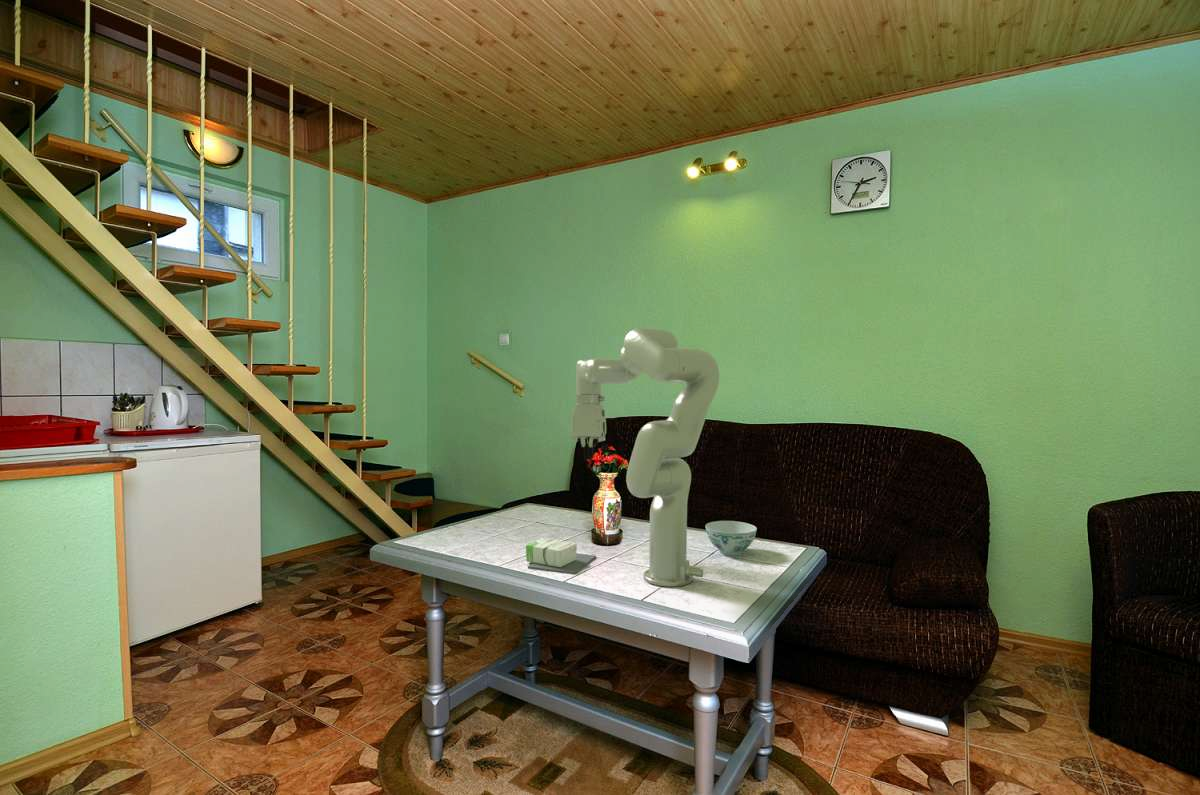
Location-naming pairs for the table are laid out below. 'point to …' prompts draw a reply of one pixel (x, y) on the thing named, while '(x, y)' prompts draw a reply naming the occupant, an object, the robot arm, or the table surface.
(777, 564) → the table surface
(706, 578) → the table surface
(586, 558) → the slate mat
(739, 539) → the chinaware
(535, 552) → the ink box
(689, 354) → the robot arm
